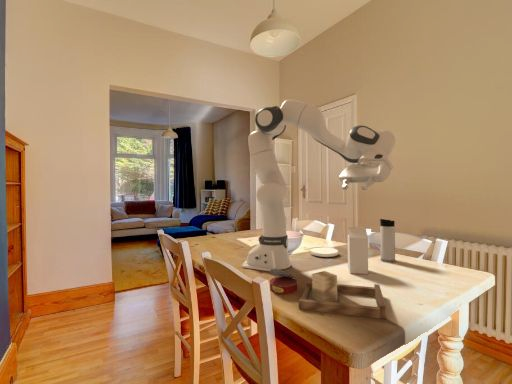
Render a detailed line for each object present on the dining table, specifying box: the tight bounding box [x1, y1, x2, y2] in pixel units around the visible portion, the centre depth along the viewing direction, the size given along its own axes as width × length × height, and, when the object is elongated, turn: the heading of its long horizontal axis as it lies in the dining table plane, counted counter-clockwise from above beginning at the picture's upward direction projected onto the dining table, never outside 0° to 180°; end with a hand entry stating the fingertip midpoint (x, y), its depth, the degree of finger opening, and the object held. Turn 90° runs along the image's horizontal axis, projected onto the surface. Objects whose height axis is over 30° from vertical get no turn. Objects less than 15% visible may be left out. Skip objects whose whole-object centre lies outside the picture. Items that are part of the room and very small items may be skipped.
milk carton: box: [346, 226, 369, 275], centre depth 117 cm, size 7×7×19 cm
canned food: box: [268, 269, 298, 295], centre depth 100 cm, size 11×10×10 cm
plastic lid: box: [310, 247, 339, 258], centre depth 146 cm, size 14×14×2 cm
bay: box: [298, 281, 387, 320], centre depth 88 cm, size 24×17×4 cm
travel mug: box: [379, 218, 396, 263], centre depth 131 cm, size 6×7×20 cm
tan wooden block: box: [311, 270, 338, 302], centre depth 89 cm, size 6×6×8 cm
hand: (353, 188), depth 105 cm, fingers open, 8 cm apart
